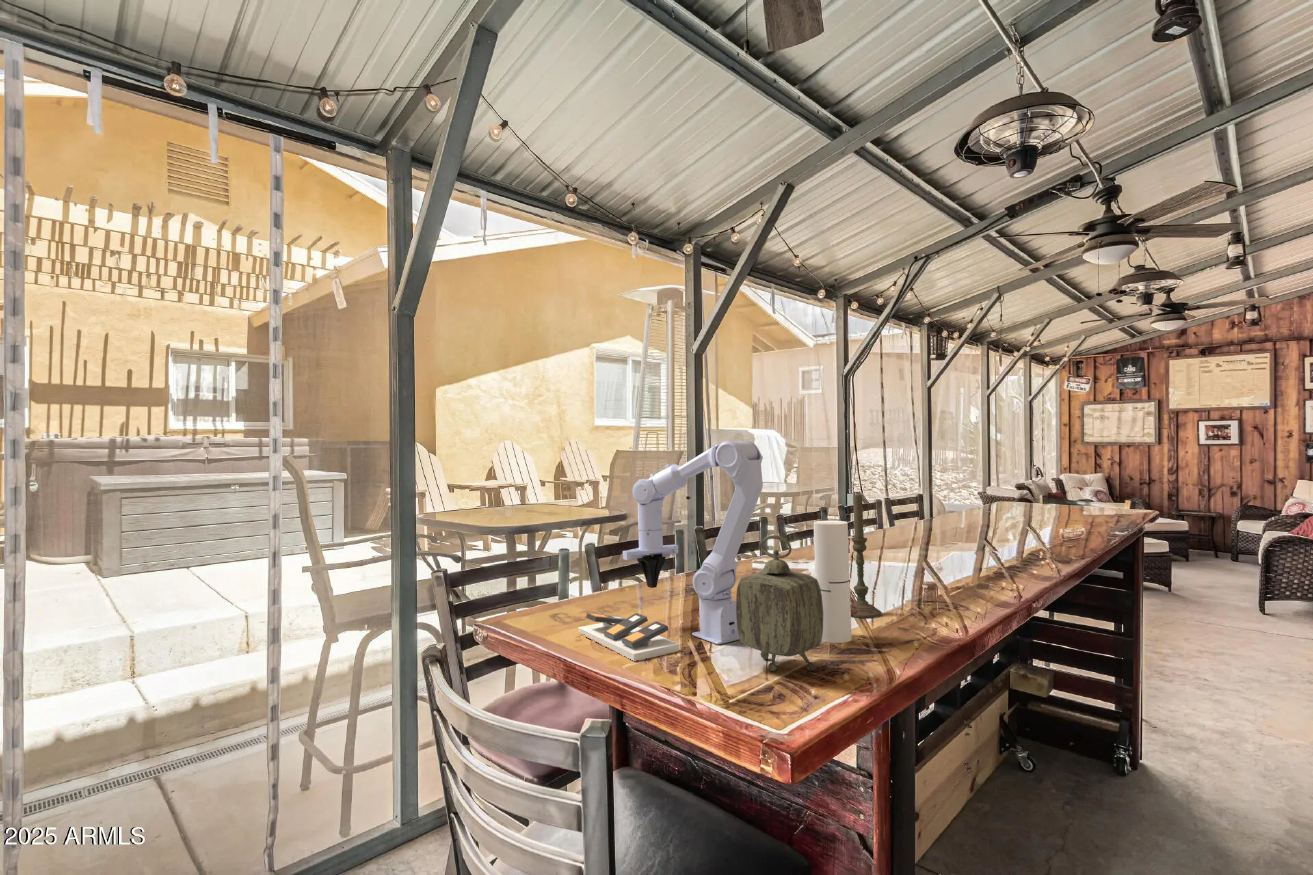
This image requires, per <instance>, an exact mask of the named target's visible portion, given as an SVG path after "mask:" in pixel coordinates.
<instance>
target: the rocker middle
mask: <svg viewBox="0 0 1313 875" xmlns="http://www.w3.org/2000/svg"><path fill="white" fill-rule="evenodd" d="M648 621H649V620H648V617H647V616H646V615H643V614H640V613H638V612H635V613H634V614H632V615H630V616H628V617H627V618H625V620H623V621H621V622H620V623H618V624H616V625H615V626H613V627H611V628H609V629H608V630H606V631H604V632H603V633H604V636H605V637H607V638H609V639H611V640H614V641H615V640H617V639H618V638H620V637H622V636H623V635H625V634H627V633H628V632H630V631H632V630H633V629H635V628H637V627H640V626H642V625H643V624H646V623H647V622H648Z"/></svg>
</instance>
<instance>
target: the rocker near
mask: <svg viewBox="0 0 1313 875" xmlns="http://www.w3.org/2000/svg"><path fill="white" fill-rule="evenodd" d="M641 628H642V629H640V630H638V631H636V632H634V633H632V634H630V635H628V636H626V637H624V638H622V639H621V640H622V644H625V645H627V646H629V647H631V648H635V647H637V646H639V645H641V644H643V643H645V642H647V641H649V640H650V639H652V638H654V637H656V636H658V635H659V636H661V635H662V634H664V633H666V632H667V631H669V627H668V625H667V624H664V623H661V622H659V621H653V622H652V623H651V624H649V625H645V626H644V627H641Z"/></svg>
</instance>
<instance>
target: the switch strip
mask: <svg viewBox="0 0 1313 875" xmlns="http://www.w3.org/2000/svg"><path fill="white" fill-rule="evenodd" d="M615 625H616V624H614V623H603V622H598V623H594V624H589V625H583V626H578V627H577V633H578V632H581V633H582V634H585V635H586V636H589V637H590V638H591V639H594V640H595V641H597V642H599V643H602V644H603V645H605V646H607V647H609V648H611V649H613V650H615V651H616V652H618V653H620V654H622V655H623V656H622V657H624V656H626V657H627V658H626V657H625V658H626V659H628V658H629V659H628V660H630V659H631V660H630V661H632V660H633V661H632V662H634V661H635V660H639V661H643V660H646V658H647V659H652V658H656V657H659V656H660V657H661V656H664V655H669V654H672V653H677V652H680V643H679V642H676V641H673V640H671V639H668V638H665V637H663V636H661V635H658V636H656V637H654V638H652V639H650V640H649V641H647V642H645V643H643V644H641V645H639V646H637V647H635V648H631V647H629V646H627V645H625V644H622V640H621V639H622V638H624V637H626V636H628V635H630V634H632V633H634V632H636V631H638V630H640V629H642V628H643V627H640V626H638V627H637V628H635V629H633V630H632V631H630V632H628V633H627V634H625V635H623V636H622V637H620V638H618V639H617V640H615V641H614V640H611V639H609V638H607V637H605V636H604V633H603V632H604V631H606V630H608V629H609V628H611V627H613V626H615ZM635 662H636V661H635Z"/></svg>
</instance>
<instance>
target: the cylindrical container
mask: <svg viewBox="0 0 1313 875" xmlns="http://www.w3.org/2000/svg"><path fill="white" fill-rule="evenodd" d="M848 523H849V522H848V521H843V520H817V521H814V522H813V545H814V546H813V548H814V575H815V577H814V578H816V579H817V581H818V583H819V586H820V590H821V595H822V603H823V613H824V615H823V634H822V640H821V642H825V643H829V644H831V643H832V644H844V643H848V642H851V641H852V617H851V608H850V605H851V587H850V586H851V585H850V557H849V556H850V554H849V532H848V531H849V530H848V528H849V527H848V526H849V525H848Z"/></svg>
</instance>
